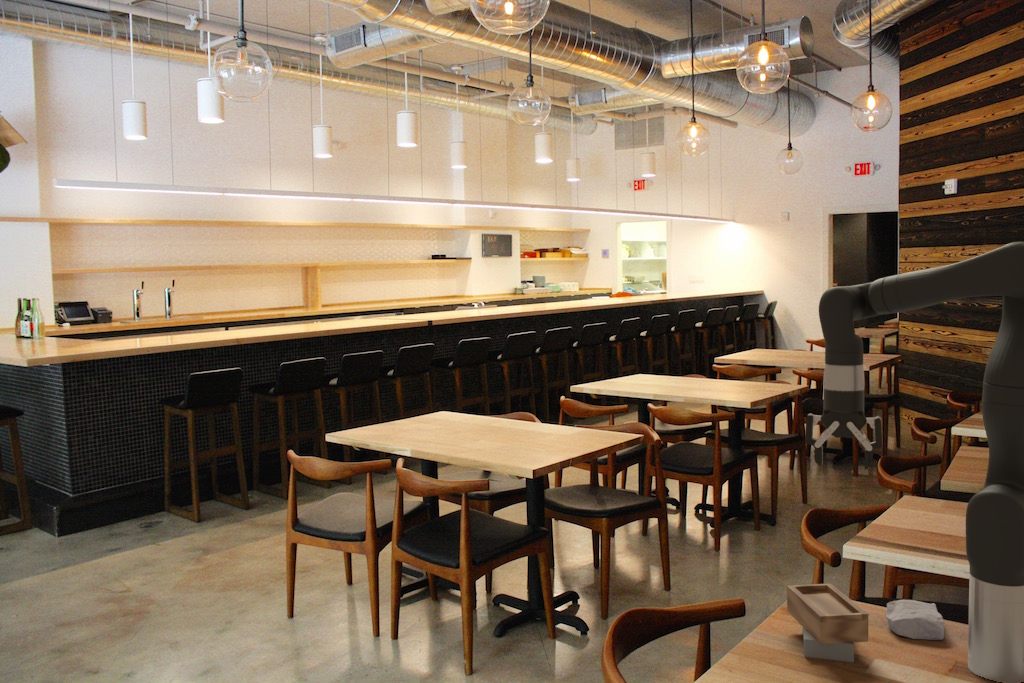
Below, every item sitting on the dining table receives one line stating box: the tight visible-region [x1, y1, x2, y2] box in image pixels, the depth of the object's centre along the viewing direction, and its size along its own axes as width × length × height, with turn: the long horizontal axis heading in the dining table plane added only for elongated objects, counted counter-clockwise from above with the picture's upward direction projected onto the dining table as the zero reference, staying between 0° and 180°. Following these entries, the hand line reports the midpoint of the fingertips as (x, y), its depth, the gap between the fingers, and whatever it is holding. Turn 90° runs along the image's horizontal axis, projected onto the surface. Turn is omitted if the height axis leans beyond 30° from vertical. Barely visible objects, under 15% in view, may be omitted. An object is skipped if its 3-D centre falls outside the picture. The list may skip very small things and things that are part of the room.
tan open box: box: [786, 583, 869, 644], centre depth 154 cm, size 9×15×5 cm, turn 4°
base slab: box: [802, 626, 855, 663], centre depth 155 cm, size 8×15×4 cm, turn 162°
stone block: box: [885, 599, 945, 641], centre depth 161 cm, size 12×5×10 cm
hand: (843, 467), depth 162 cm, fingers open, 8 cm apart
